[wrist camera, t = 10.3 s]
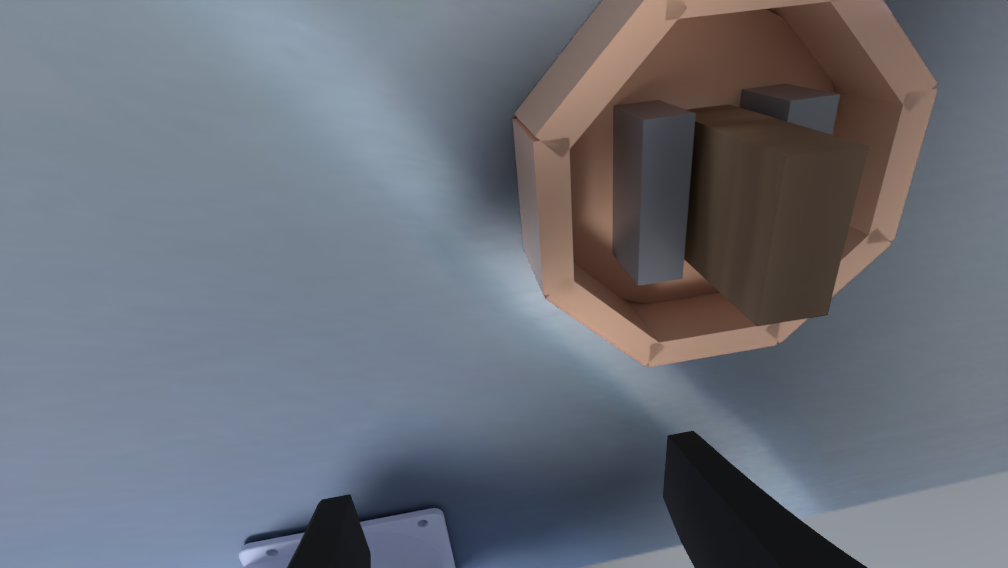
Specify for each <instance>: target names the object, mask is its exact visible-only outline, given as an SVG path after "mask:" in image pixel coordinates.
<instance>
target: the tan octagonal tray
mask: <svg viewBox="0 0 1008 568" xmlns="http://www.w3.org/2000/svg"><path fill="white" fill-rule="evenodd" d="M937 84H938V83H937V82H936V80H935V79H934V77H933V76H932V74H931V73H930V71H929V70H928V68H927V66H926V65H925V63H924V62H923V60H922V59H921V57H920V56H919V54H918V53H917V51H916V49H915V48H914V46H913V45H912V43H911V42H910V40H909V39H908V37H907V36H906V34H905V33H904V31H903V29H902V28H901V26H900V25H899V23H898V22H897V20H896V19H895V17H894V16H893V14H892V12H891V11H890V9H889V8H888V6H887V5H886V3H885V2H884V0H602V1H601V2H600V4H599V5H598V6H597V7H596V9H595V10H594V11H593V13H592V14H591V15H590V16H589V18H588V19H587V20H586V22H585V23H584V24H583V25H582V27H581V28H580V29H579V31H578V32H577V33H576V34H575V36H574V37H573V38H572V40H571V41H570V42H569V43H568V45H567V46H566V47H565V49H564V50H563V51H562V52H561V54H560V55H559V56H558V58H557V59H556V60H555V61H554V63H553V64H552V65H551V67H550V68H549V69H548V71H547V72H546V73H545V74H544V76H543V77H542V78H541V80H540V81H539V82H538V83H537V85H536V86H535V87H534V89H533V90H532V91H531V92H530V94H529V95H528V96H527V98H526V99H525V100H524V101H523V103H522V104H521V105H520V107H519V108H518V109H517V110H516V112H515V113H514V115H515V116H516V117H517V118H514V119H512V120H513V132H514V144H515V156H516V168H517V179H518V191H519V203H520V215H521V227H522V238H523V250H524V253H525V255H526V257H527V259H528V262H529V264H530V266H531V268H532V271H533V273H534V275H535V277H536V280H537V282H538V284H539V286H540V289H541V291H542V293H543V295H544V296H545V299H547V300H548V301H549V302H551V303H552V304H554V305H555V306H557V307H558V308H560V309H561V310H563V311H564V312H566V313H567V314H568V315H570V316H571V317H573V318H574V319H576V320H577V321H579V322H580V323H582V324H583V325H585V326H586V327H588V328H589V329H590V330H592V331H593V332H595V333H596V334H598V335H599V336H601V337H602V338H604V339H605V340H607V341H608V342H610V343H611V344H612V345H614V346H615V347H617V348H618V349H620V350H621V351H623V352H624V353H626V354H627V355H629V356H630V357H632V358H633V359H634V360H636V361H637V362H639V363H640V364H642V365H643V366H646V365H648V367H654V366H660V365H665V364H671V363H677V362H683V361H688V360H694V359H700V358H706V357H712V356H717V355H723V354H729V353H735V352H740V351H746V350H752V349H758V348H764V347H769V346H775V345H776V344H777V341H778V342H779V343H781V342H782V341H783V340H785V339H786V338H787V337H788V336H789V335H790V334H791V333H792V332H794V331H795V330H796V329H797V328H798V327H799V326H800V325H801V324H802V323H804V322H805V321H806V320H807V319H808V318H807V319H800V320H794V321H788V322H782V323H776V324H770V325H764V326H758V327H757V326H755V325H754V324H753V323H752V322H751V321H750V320H749V319H748V318H747V317H746V316H745V315H744V314H743V313H741V312H740V311H739V310H738V309H737V308H736V307H735V306H734V305H733V304H732V303H731V302H730V301H729V300H727V299H726V298H725V297H724V296H723V295H722V294H721V293H720V292H719V291H718V290H717V289H716V288H714V287H713V286H712V285H711V284H710V283H709V282H708V281H707V280H706V279H705V278H704V277H703V276H702V275H700V274H699V273H698V272H697V271H696V270H695V269H694V268H693V267H692V266H691V265H690V264H689V263H688V262H686V261H685V260H684V254H685V241H686V229H687V216H688V204H689V191H690V179H691V166H692V153H693V141H694V128H695V116H696V113H694V112H691V111H688V110H686V109H694V108H702V107H710V106H719V105H727V104H730V105H733V106H736V107H740V108H743V109H747V110H750V111H753V112H757V113H760V114H763V115H767V116H770V117H774V118H777V119H780V120H784V121H787V122H791V123H794V124H797V125H801V126H804V127H807V128H811V129H814V130H818V131H821V132H824V133H828V134H831V135H834V136H838V137H841V138H845V139H848V140H851V141H855V142H858V143H861V144H865V145H868V146H869V149H868V153H867V157H866V161H865V165H864V169H863V173H862V177H861V181H860V185H859V189H858V193H857V197H856V201H855V205H854V209H853V214H852V218H851V222H850V226H849V230H848V234H847V238H846V242H845V246H844V250H843V254H842V258H841V262H840V266H839V270H838V274H837V278H836V282H835V286H834V291H833V295H832V297H833V296H834V295H835V294H836V293H837V292H838V291H839V290H841V289H842V288H843V287H844V286H845V285H846V284H847V283H848V282H850V281H851V280H852V279H853V278H854V277H855V276H856V275H857V274H858V273H860V272H861V271H862V270H863V269H864V268H865V267H866V266H867V265H869V264H870V263H871V262H872V261H873V260H874V259H875V258H876V257H877V256H879V255H880V254H881V253H882V252H883V251H884V250H885V249H886V248H888V247H889V246H890V245H891V243H890V242H889V241H890V240H894V239H895V235H896V232H897V229H898V225H899V222H900V218H901V215H902V211H903V208H904V204H905V201H906V197H907V194H908V191H909V187H910V184H911V180H912V177H913V173H914V170H915V166H916V163H917V159H918V156H919V153H920V149H921V146H922V142H923V139H924V135H925V132H926V128H927V125H928V121H929V118H930V114H931V111H932V108H933V104H934V101H935V97H936V94H937V90H938V89H937V88H934V87H935V86H936V85H937Z"/></svg>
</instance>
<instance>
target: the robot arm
mask: <svg viewBox="0 0 1008 568" xmlns="http://www.w3.org/2000/svg"><path fill="white" fill-rule="evenodd" d="M663 498H664V500H665V503H666V506H667V508H668V511H669V513H670V516H671V518H672V521H673V523H674V526H675V528H676V531H677V533H678V535H679V538H680V540H681V542H682V544H683V546H684V548H685V550H686V552H687V554H688V556H689V558H690V559H691V561H692V563H693V565H694V567H695V568H867V567H866V566H864V565H863V564H861V563H860V562H858V561H857V560H855V559H854V558H852V557H851V556H849V555H848V554H846V553H845V552H844V551H842V550H841V549H839V548H838V547H836V546H835V545H834V544H832V543H831V542H829V541H828V540H827V539H825V538H824V537H822V536H821V535H820V534H818V533H817V532H816V531H814V530H813V529H812V528H810V527H809V526H808V525H806V524H805V523H804V522H802V521H801V520H800V519H798V518H797V517H796V516H794V515H793V514H792V513H791V512H789V511H788V510H787V509H785V508H784V507H783V506H782V505H780V504H779V503H778V502H777V501H775V500H774V499H773V498H772V497H771V496H769V495H768V494H767V493H766V492H764V491H763V490H762V489H761V488H759V487H758V486H757V485H756V484H755V483H753V482H752V481H751V480H750V479H749V478H747V477H746V476H745V475H744V474H743V473H741V472H740V471H739V470H738V469H737V468H736V467H734V466H733V465H732V464H731V463H730V462H729V461H728V460H726V459H725V458H724V457H723V456H722V455H721V454H719V453H718V452H717V451H716V450H715V449H714V448H713V447H712V446H710V445H709V444H708V443H707V442H706V441H705V440H704V439H702V438H701V437H700V436H699V435H698V434H697V433H695V432H694V431H690V432H684V433H679V434H673V435H668V438H667V451H666V464H665V477H664V490H663ZM239 559H240V560H241V562H242V564H243V566H244V567H243V568H456V566H455V562H454V558H453V553H452V549H451V544H450V540H449V536H448V531H447V527H446V522H445V518H444V513H443V512H442V511H441V510H440V509H437V508H431V509H426V510H420V511H415V512H410V513H404V514H399V515H394V516H389V517H383V518H378V519H373V520H368V521H362V522H360V521H359V518H358V515H357V512H356V509H355V506H354V504H353V501H352V498H351V495H344V496H339V497H333V498H328V499H323V500H321V501H320V503H319V504H318V506H317V508H316V510H315V512H314V514H313V516H312V518H311V520H310V522H309V524H308V527H307V529H306V531H305V532H304V533H299V534H294V535H289V536H283V537H278V538H273V539H268V540H262V541H257V542H252V543H248V544H245V545H243V546H242V547H241V550H240V553H239Z"/></svg>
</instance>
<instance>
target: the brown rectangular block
mask: <svg viewBox="0 0 1008 568" xmlns="http://www.w3.org/2000/svg"><path fill="white" fill-rule="evenodd" d="M686 110H688V111H691V112H694V113H696V116H695V128H694V141H693V153H692V166H691V179H690V191H689V204H688V216H687V229H686V241H685V254H684V260H685V261H686V262H688V263H689V264H690V265H691V266H692V267H693V268H694V269H695V270H696V271H697V272H698V273H699V274H700V275H702V276H703V277H704V278H705V279H706V280H707V281H708V282H709V283H710V284H711V285H712V286H713V287H714V288H716V289H717V290H718V291H719V292H720V293H721V294H722V295H723V296H724V297H725V298H726V299H727V300H729V301H730V302H731V303H732V304H733V305H734V306H735V307H736V308H737V309H738V310H739V311H740V312H741V313H743V314H744V315H745V316H746V317H747V318H748V319H749V320H750V321H751V322H752V323H753V324H754V325H755V326H757V327H758V326H764V325H770V324H776V323H782V322H788V321H794V320H800V319H807V318H813V317H819V316H825V315H828V311H829V307H830V303H831V299H832V295H833V291H834V286H835V282H836V278H837V274H838V270H839V266H840V262H841V258H842V254H843V250H844V246H845V242H846V238H847V234H848V230H849V226H850V222H851V218H852V214H853V209H854V205H855V201H856V197H857V193H858V189H859V185H860V181H861V177H862V173H863V169H864V165H865V161H866V157H867V153H868V149H869V146H868V145H865V144H861V143H858V142H855V141H851V140H848V139H845V138H841V137H838V136H834V135H831V134H828V133H824V132H821V131H818V130H814V129H811V128H807V127H804V126H801V125H797V124H794V123H791V122H787V121H784V120H780V119H777V118H774V117H770V116H767V115H763V114H760V113H757V112H753V111H750V110H747V109H743V108H740V107H736V106H733V105H730V104H727V105H719V106H710V107H702V108H694V109H686Z"/></svg>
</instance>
